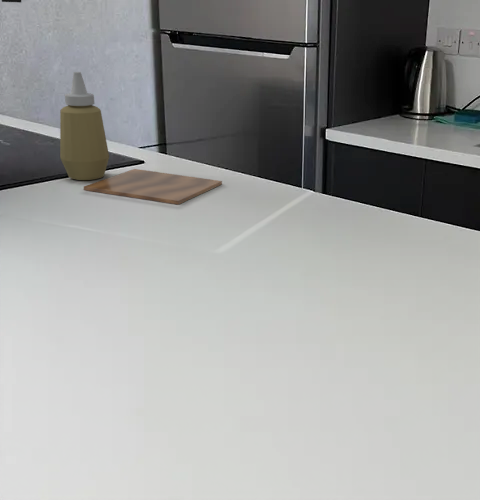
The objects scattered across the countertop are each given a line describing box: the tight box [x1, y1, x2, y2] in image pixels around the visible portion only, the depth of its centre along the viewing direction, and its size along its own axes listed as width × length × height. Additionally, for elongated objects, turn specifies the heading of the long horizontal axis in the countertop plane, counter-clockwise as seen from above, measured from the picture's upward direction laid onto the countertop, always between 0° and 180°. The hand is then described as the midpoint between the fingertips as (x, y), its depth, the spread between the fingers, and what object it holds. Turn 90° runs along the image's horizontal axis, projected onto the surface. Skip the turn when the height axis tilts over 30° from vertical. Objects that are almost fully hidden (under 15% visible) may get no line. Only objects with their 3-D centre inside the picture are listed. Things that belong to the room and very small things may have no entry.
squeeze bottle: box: [59, 71, 110, 181], centre depth 117 cm, size 8×8×18 cm
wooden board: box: [83, 168, 223, 205], centre depth 116 cm, size 18×14×1 cm
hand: (12, 1), depth 110 cm, fingers open, 13 cm apart
